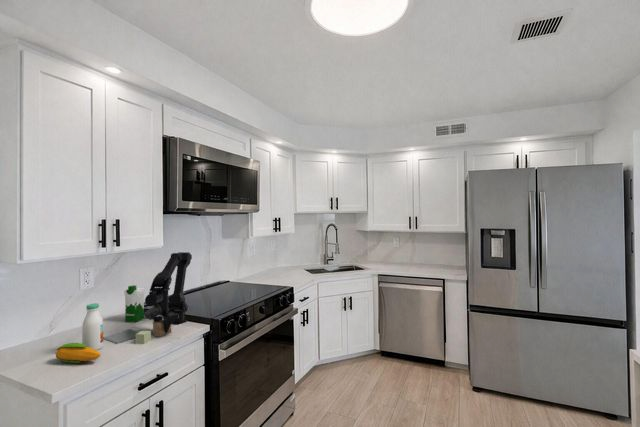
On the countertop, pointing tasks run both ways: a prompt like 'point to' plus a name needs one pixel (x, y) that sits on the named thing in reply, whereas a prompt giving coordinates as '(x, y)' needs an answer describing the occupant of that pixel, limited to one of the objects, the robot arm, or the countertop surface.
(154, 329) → the walnut cube
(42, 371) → the countertop surface
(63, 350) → the corn
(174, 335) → the countertop surface
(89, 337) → the milk bottle
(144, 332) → the olive block
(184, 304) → the robot arm
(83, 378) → the countertop surface
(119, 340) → the slate coaster
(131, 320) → the milk carton
